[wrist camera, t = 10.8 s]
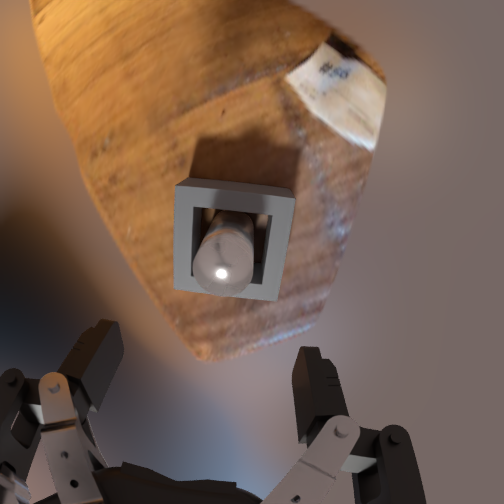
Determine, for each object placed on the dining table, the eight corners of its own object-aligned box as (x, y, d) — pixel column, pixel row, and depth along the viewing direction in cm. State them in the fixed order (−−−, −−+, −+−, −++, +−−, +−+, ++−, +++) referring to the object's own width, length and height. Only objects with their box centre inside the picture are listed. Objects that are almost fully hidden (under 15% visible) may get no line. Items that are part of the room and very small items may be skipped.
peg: (212, 206, 25) (193, 238, 17) (256, 211, 25) (256, 246, 17) (209, 247, 26) (191, 292, 19) (251, 252, 26) (249, 299, 19)
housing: (187, 177, 23) (175, 185, 20) (289, 188, 24) (295, 198, 20) (184, 268, 27) (174, 289, 23) (274, 278, 27) (276, 301, 24)
